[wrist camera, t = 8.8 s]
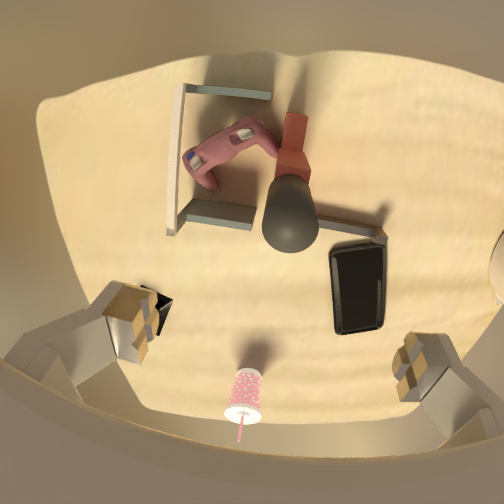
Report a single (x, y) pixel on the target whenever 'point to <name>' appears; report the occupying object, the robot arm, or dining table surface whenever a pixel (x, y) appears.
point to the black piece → (162, 309)
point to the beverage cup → (245, 399)
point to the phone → (358, 287)
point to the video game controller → (227, 149)
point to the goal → (195, 208)
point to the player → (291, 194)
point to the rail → (353, 228)
